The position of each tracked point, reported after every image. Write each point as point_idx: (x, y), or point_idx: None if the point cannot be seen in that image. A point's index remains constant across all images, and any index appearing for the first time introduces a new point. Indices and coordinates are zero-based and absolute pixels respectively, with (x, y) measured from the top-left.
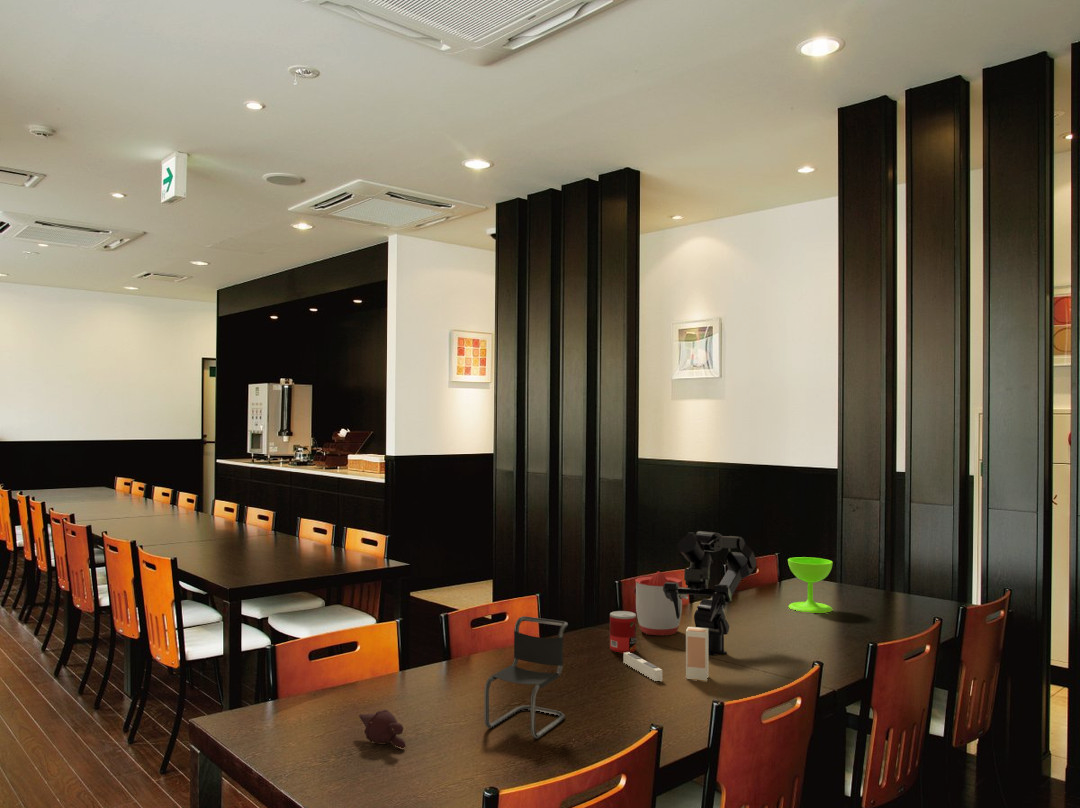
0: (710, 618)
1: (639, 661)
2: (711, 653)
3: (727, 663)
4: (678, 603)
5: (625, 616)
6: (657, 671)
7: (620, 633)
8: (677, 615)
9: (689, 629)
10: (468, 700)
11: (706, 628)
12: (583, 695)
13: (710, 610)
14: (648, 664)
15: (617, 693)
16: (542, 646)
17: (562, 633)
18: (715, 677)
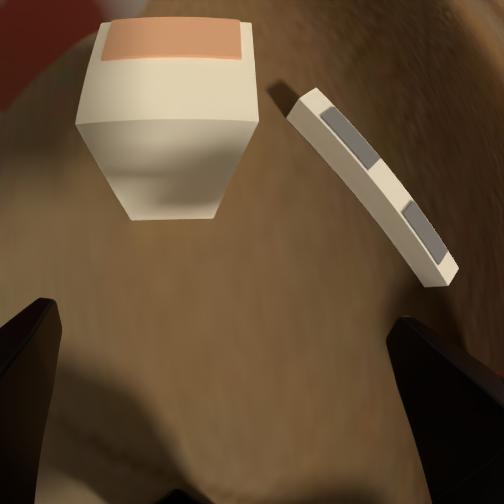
0: (36, 304)
1: (395, 178)
2: (173, 500)
3: (89, 423)
4: (486, 435)
5: None
6: (310, 91)
7: (502, 375)
8: (415, 324)
9: (229, 35)
10: (484, 31)
11: (91, 111)
12: (400, 26)
13: (2, 369)
14: (359, 139)
15: (355, 30)
16: None
17: None
18: (104, 217)
